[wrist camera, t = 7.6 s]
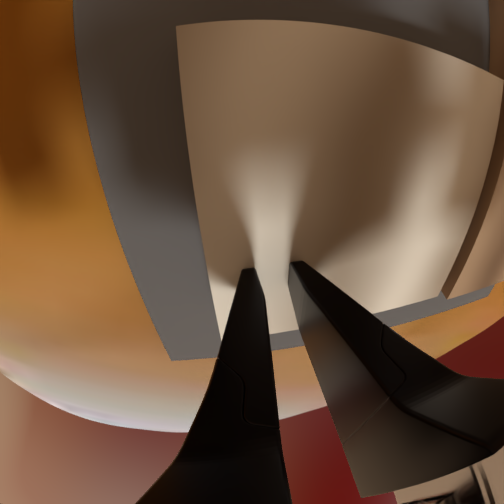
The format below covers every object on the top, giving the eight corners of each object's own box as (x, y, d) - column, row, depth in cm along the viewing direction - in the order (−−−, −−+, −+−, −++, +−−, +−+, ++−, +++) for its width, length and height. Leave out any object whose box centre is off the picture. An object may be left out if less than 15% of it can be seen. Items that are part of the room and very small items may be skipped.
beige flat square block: (474, 70, 6) (503, 80, 5) (422, 275, 13) (437, 296, 11) (181, 32, 5) (175, 25, 4) (218, 310, 12) (221, 340, 10)
